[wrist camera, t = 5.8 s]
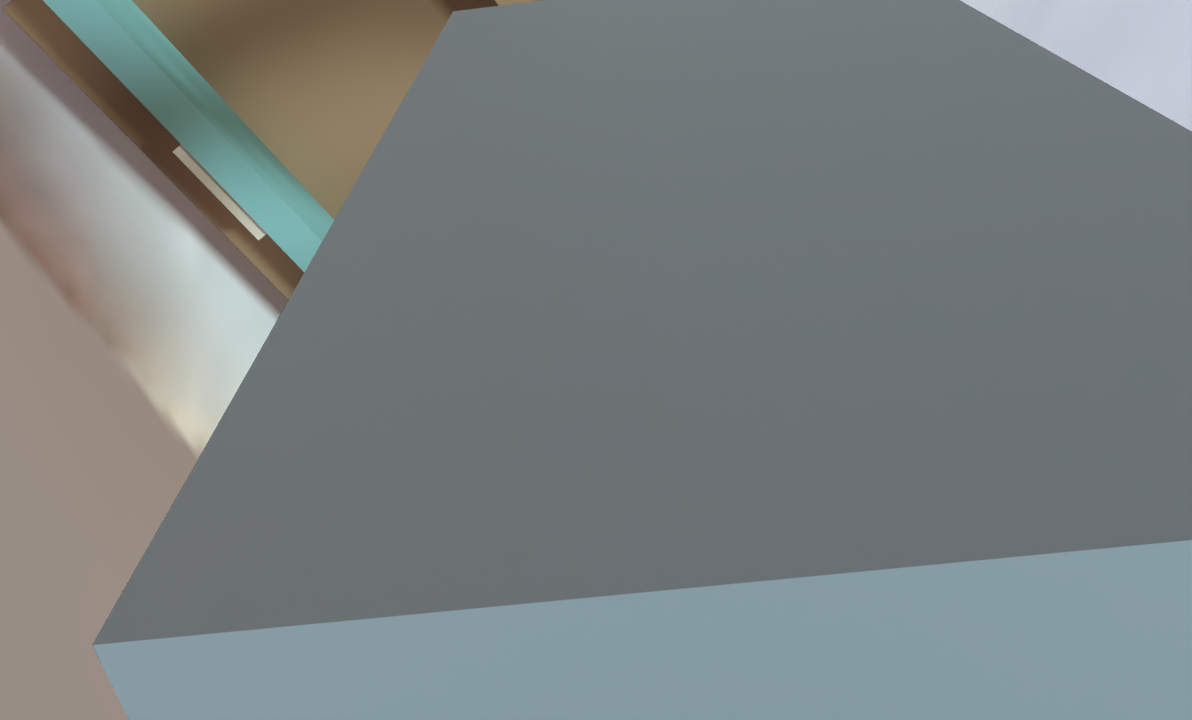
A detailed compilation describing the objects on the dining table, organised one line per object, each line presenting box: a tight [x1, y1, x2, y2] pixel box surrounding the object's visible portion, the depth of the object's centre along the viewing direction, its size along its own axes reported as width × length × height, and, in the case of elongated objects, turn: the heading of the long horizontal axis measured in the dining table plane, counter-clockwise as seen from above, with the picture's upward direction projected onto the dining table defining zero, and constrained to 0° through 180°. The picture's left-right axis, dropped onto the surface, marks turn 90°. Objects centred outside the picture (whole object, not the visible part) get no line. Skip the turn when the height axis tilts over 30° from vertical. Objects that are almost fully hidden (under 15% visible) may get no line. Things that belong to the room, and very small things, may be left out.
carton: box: [93, 0, 1192, 720], centre depth 9 cm, size 5×10×9 cm, turn 7°
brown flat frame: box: [3, 0, 543, 300], centre depth 28 cm, size 25×13×3 cm, turn 36°
